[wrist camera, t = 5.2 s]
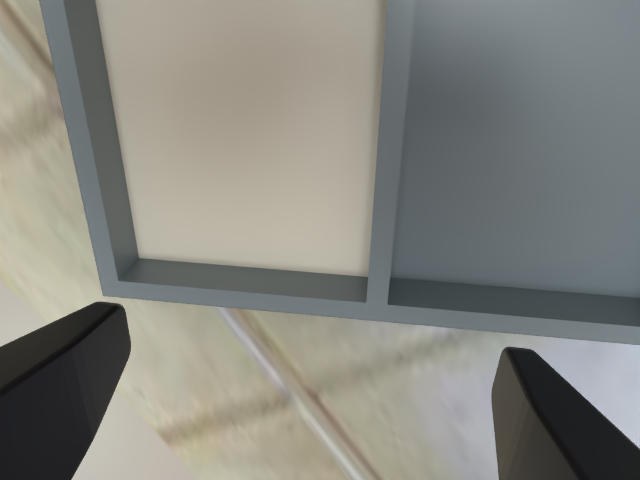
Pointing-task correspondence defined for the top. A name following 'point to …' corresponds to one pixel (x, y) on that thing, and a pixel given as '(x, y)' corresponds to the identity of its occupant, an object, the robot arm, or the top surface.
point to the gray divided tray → (362, 157)
